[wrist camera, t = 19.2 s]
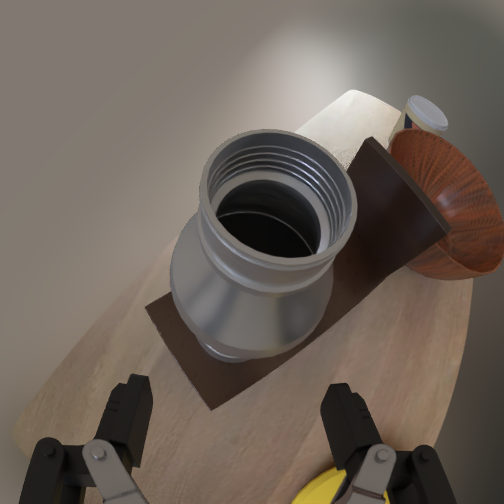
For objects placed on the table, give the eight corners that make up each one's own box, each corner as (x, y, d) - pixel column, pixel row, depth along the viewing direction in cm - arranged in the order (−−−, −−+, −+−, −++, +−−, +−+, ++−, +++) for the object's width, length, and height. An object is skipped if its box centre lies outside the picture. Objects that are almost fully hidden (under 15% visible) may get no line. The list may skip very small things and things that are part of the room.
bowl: (452, 326, 35) (504, 307, 25) (331, 246, 38) (369, 202, 27) (466, 217, 45) (500, 188, 35) (373, 149, 48) (399, 107, 37)
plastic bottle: (267, 290, 26) (369, 113, 8) (269, 363, 23) (432, 332, 5) (196, 288, 25) (162, 92, 7) (194, 363, 22) (108, 341, 4)
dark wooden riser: (212, 400, 28) (206, 439, 12) (160, 321, 31) (104, 269, 15) (363, 289, 36) (452, 228, 19) (315, 227, 39) (372, 136, 22)
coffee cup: (380, 146, 48) (407, 103, 38) (389, 127, 52) (412, 88, 41) (417, 173, 47) (449, 134, 36) (422, 151, 51) (449, 115, 40)
